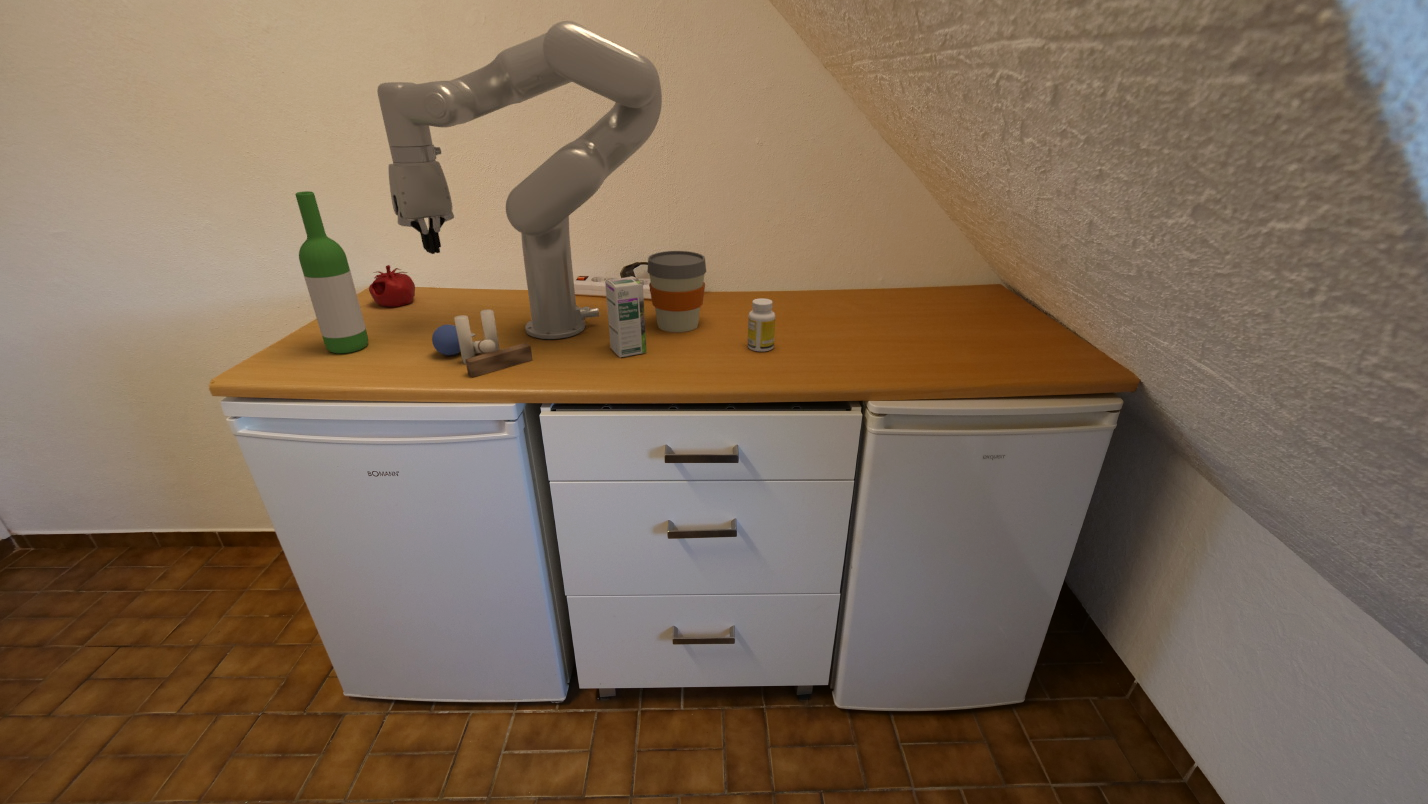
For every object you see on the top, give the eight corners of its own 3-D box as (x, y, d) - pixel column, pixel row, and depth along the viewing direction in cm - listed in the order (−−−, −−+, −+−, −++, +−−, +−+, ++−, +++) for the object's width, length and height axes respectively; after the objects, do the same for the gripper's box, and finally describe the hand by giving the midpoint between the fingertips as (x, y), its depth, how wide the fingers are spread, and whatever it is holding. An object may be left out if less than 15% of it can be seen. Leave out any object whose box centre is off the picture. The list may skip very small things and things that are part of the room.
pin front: (479, 341, 124) (495, 339, 117) (480, 353, 124) (496, 352, 117) (466, 341, 123) (481, 339, 116) (467, 354, 123) (482, 352, 116)
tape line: (473, 334, 133) (473, 333, 133) (475, 335, 132) (475, 334, 132) (435, 343, 128) (435, 342, 128) (437, 345, 127) (437, 344, 127)
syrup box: (619, 358, 122) (615, 286, 115) (609, 348, 127) (604, 278, 120) (646, 353, 125) (643, 282, 118) (636, 343, 129) (632, 274, 122)
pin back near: (499, 351, 125) (492, 308, 120) (501, 356, 123) (494, 312, 118) (486, 353, 124) (479, 310, 119) (488, 358, 122) (481, 314, 118)
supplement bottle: (776, 344, 129) (779, 298, 125) (769, 354, 125) (772, 307, 120) (751, 340, 131) (753, 295, 126) (744, 350, 126) (745, 304, 122)
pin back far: (475, 358, 122) (466, 314, 117) (476, 362, 120) (468, 318, 116) (462, 360, 121) (453, 316, 116) (463, 365, 119) (455, 320, 115)
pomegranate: (413, 295, 156) (406, 257, 152) (421, 305, 149) (414, 267, 145) (369, 300, 151) (361, 262, 147) (375, 312, 144) (366, 272, 140)
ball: (469, 340, 120) (473, 334, 126) (441, 321, 118) (447, 316, 123) (450, 364, 120) (455, 357, 126) (422, 345, 118) (428, 339, 124)
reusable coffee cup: (673, 340, 131) (671, 269, 124) (638, 323, 139) (635, 257, 132) (717, 326, 138) (718, 259, 131) (682, 311, 147) (681, 247, 140)
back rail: (527, 356, 122) (525, 342, 121) (532, 360, 121) (530, 345, 120) (468, 374, 115) (465, 359, 114) (472, 377, 114) (469, 362, 113)
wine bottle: (340, 358, 121) (293, 198, 107) (318, 349, 125) (270, 193, 111) (378, 345, 127) (338, 191, 113) (355, 337, 130) (314, 187, 116)
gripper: (443, 151, 125) (460, 243, 134) (364, 157, 116) (388, 255, 124) (460, 154, 120) (476, 249, 129) (379, 160, 111) (402, 262, 120)
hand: (433, 252), depth 127 cm, fingers closed
